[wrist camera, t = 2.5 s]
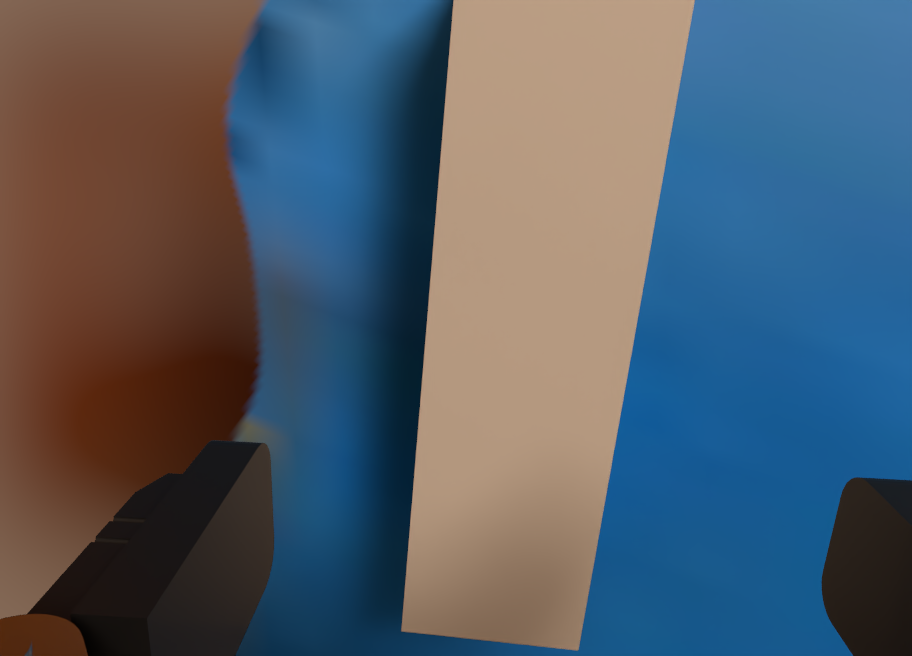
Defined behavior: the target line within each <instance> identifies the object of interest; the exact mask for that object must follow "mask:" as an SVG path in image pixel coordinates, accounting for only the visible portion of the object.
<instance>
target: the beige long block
mask: <svg viewBox="0 0 912 656" xmlns="http://www.w3.org/2000/svg"><path fill="white" fill-rule="evenodd" d="M694 1H695V0H454V1H453V13H452V25H451V38H450V50H449V62H448V74H447V86H446V98H445V110H444V122H443V134H442V146H441V158H440V170H439V183H438V195H437V207H436V219H435V231H434V243H433V255H432V267H431V279H430V291H429V303H428V315H427V327H426V340H425V352H424V364H423V376H422V388H421V400H420V412H419V424H418V436H417V448H416V460H415V472H414V484H413V497H412V509H411V521H410V533H409V545H408V557H407V569H406V581H405V593H404V605H403V617H402V629H401V631H403V632H413V633H422V634H431V635H440V636H449V637H459V638H468V639H477V640H486V641H495V642H505V643H514V644H523V645H532V646H542V647H551V648H560V649H569V650H578V649H579V643H580V638H581V632H582V626H583V621H584V615H585V610H586V604H587V599H588V593H589V587H590V582H591V576H592V571H593V565H594V559H595V554H596V548H597V543H598V537H599V532H600V526H601V520H602V515H603V509H604V504H605V498H606V492H607V487H608V481H609V476H610V470H611V465H612V459H613V453H614V448H615V442H616V437H617V431H618V425H619V420H620V414H621V409H622V403H623V398H624V392H625V386H626V381H627V375H628V370H629V364H630V358H631V353H632V347H633V342H634V336H635V331H636V325H637V319H638V314H639V308H640V303H641V297H642V291H643V286H644V280H645V275H646V269H647V264H648V258H649V252H650V247H651V241H652V236H653V230H654V224H655V219H656V213H657V208H658V202H659V197H660V191H661V185H662V180H663V174H664V169H665V163H666V157H667V152H668V146H669V141H670V135H671V130H672V124H673V118H674V113H675V107H676V102H677V96H678V90H679V85H680V79H681V74H682V68H683V63H684V57H685V51H686V46H687V40H688V35H689V29H690V23H691V18H692V12H693V7H694Z"/></svg>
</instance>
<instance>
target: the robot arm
mask: <svg viewBox="0 0 912 656" xmlns="http://www.w3.org/2000/svg"><path fill="white" fill-rule="evenodd" d="M273 551H274V527H273V504H272V481H271V460H270V452H269V449H268V446H267V445H266V444H265V443H253V442H235V441H217V440H216V441H215V440H212V441H210V442H209V443H208V444H207V445H206V446H205V447H204V448H203V450H202V451H201V452H200V453H199V455H198V456H197V457H196V458H195V460H194V461H193V462H192V463H191V464H190V466H189V467H188V468H187V469H186V471H185V472H184V473H183V474H172V473H171V474H170V473H168V474H166V475H164V476H163V477H161V478H159V479H157V480H156V481H154V482H153V483H151V484H149V485H147V486H146V487H144V488H142V489H140V490H139V491H137V492H135V494H134V495H132V497H131V498H130V499H129V500H128V501H127V502H126V503H125V505H124V506H123V507H122V508H121V509H120V510H119V512H117V513H116V515H115V516H114V520H113V521H110V522H108V524H107V525H106V526H105V527H104V528H103V529H102V530H101V532H100V533H99V534H98V535H97V536H96V540H95V542H91V543H90V544H89V545H88V546H87V547H86V548H85V549H84V551H83V552H82V553H81V554H80V555H79V556H78V557H77V559H76V560H75V561H74V562H73V563H72V564H71V565H70V566H69V567H68V569H67V570H66V571H65V572H64V573H63V574H62V575H61V576H60V578H59V579H58V580H57V581H56V582H55V583H54V584H53V585H52V587H51V588H50V589H49V590H48V591H47V592H46V593H45V595H44V596H43V597H42V598H41V599H40V600H39V601H38V602H37V603H36V605H35V606H34V607H33V608H32V609H31V610H30V611H29V612H28V614H26V615H17V616H11V617H6V618H2V619H0V656H235V655H236V652H237V650H238V648H239V646H240V644H241V641H242V639H243V637H244V635H245V632H246V630H247V628H248V626H249V623H250V621H251V619H252V617H253V614H254V612H255V610H256V608H257V606H258V603H259V601H260V599H261V597H262V594H263V592H264V590H265V588H266V585H267V582H268V579H269V575H270V571H271V566H272V560H273ZM822 596H823V601H824V605H825V609H826V612H827V615H828V617H829V619H830V621H831V623H832V624H833V626H834V627H835V629H836V630H837V632H838V633H839V635H840V636H841V638H842V639H843V641H844V642H845V644H846V645H847V647H848V648H849V650H850V651H851V653H852V654H853V656H912V481H910V480H893V479H875V478H853V479H851V480H850V481H849V482H847V484H846V485H845V487H844V489H843V491H842V495H841V498H840V503H839V507H838V511H837V515H836V519H835V524H834V528H833V532H832V536H831V540H830V544H829V549H828V553H827V557H826V561H825V565H824V569H823V575H822Z"/></svg>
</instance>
